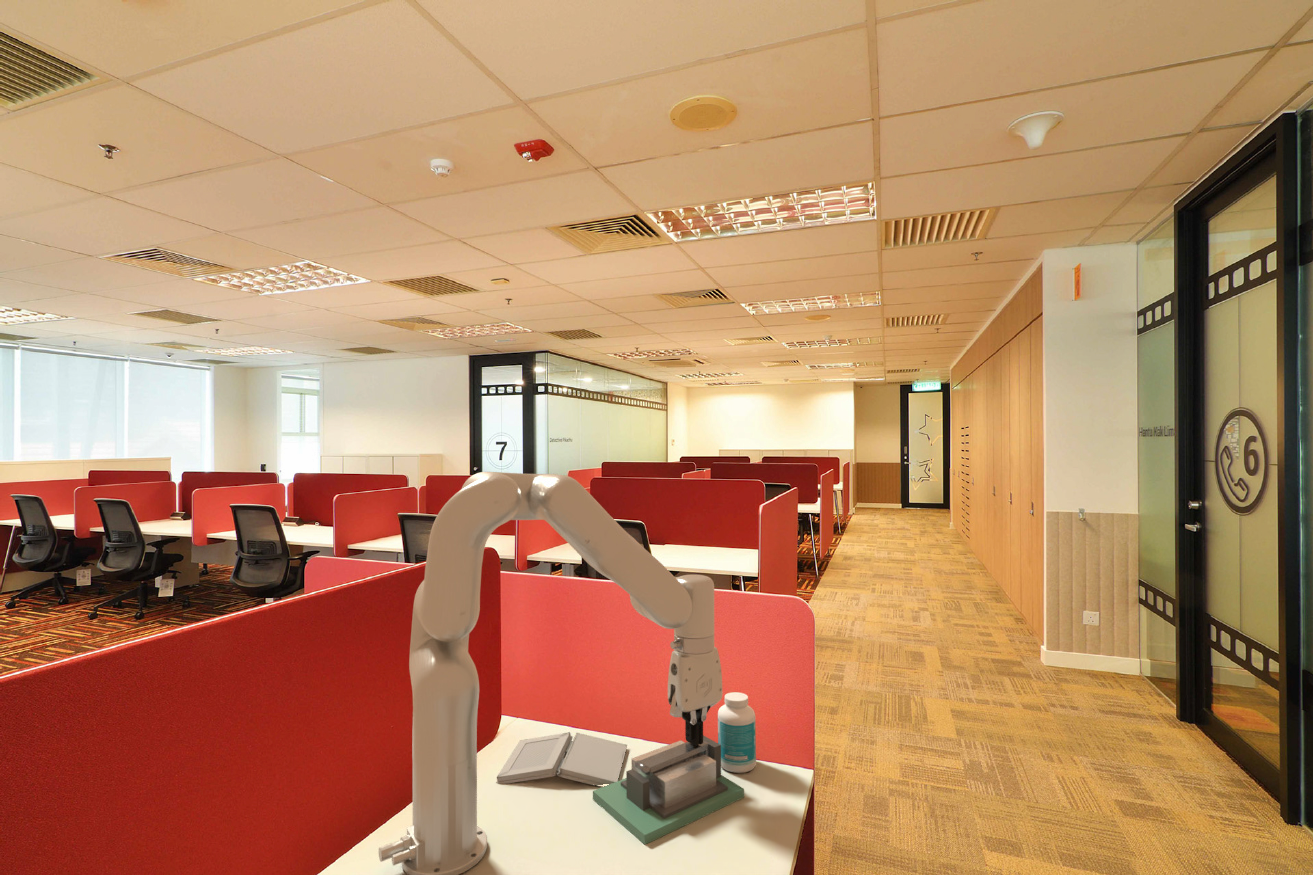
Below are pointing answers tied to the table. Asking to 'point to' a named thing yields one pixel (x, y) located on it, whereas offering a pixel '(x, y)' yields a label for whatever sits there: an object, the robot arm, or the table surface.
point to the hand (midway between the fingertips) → (694, 741)
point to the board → (653, 821)
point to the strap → (671, 757)
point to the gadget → (582, 761)
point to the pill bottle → (737, 734)
